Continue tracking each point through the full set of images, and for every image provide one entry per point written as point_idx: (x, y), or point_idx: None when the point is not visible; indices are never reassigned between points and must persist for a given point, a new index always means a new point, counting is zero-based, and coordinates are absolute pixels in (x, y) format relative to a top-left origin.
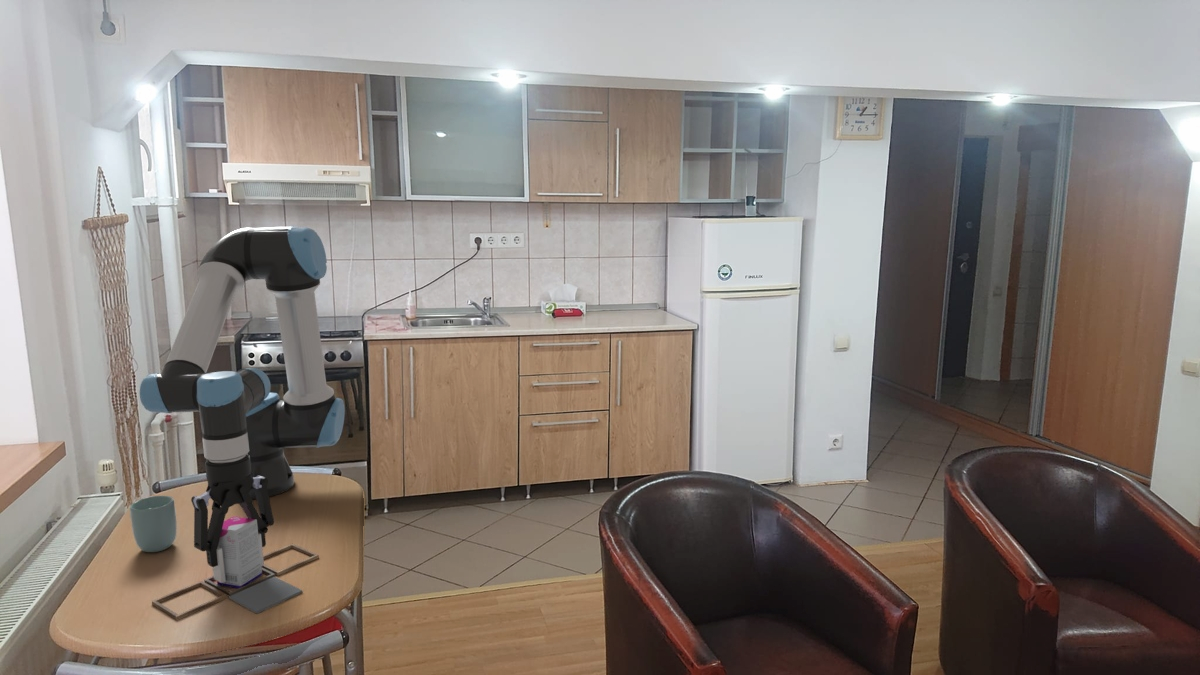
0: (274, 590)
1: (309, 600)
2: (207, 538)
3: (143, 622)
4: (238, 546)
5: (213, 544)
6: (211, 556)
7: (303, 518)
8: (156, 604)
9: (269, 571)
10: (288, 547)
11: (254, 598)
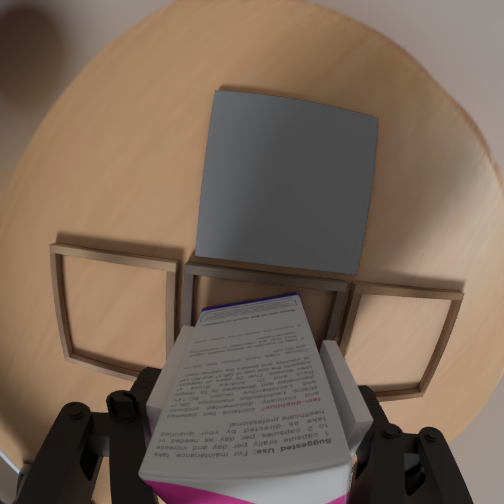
0: (262, 171)
1: (242, 42)
2: (431, 467)
3: (471, 338)
4: (322, 385)
5: (397, 444)
6: (380, 413)
7: (26, 407)
8: (430, 379)
9: (184, 295)
10: (78, 358)
11: (332, 187)
